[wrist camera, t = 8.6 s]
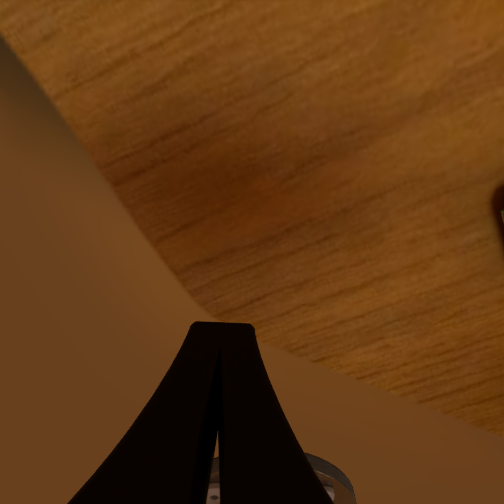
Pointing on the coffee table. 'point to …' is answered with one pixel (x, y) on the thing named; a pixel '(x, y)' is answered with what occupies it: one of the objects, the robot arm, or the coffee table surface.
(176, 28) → the coffee table surface
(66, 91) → the coffee table surface
